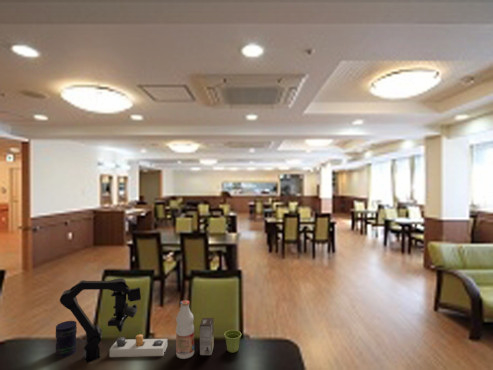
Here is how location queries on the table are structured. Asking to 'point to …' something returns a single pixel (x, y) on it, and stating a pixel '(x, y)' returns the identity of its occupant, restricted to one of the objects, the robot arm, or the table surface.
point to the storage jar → (66, 338)
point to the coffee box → (206, 336)
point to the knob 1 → (120, 342)
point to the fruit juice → (184, 332)
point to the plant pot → (232, 340)
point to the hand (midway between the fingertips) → (120, 331)
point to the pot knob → (139, 340)
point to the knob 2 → (158, 343)
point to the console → (138, 348)
